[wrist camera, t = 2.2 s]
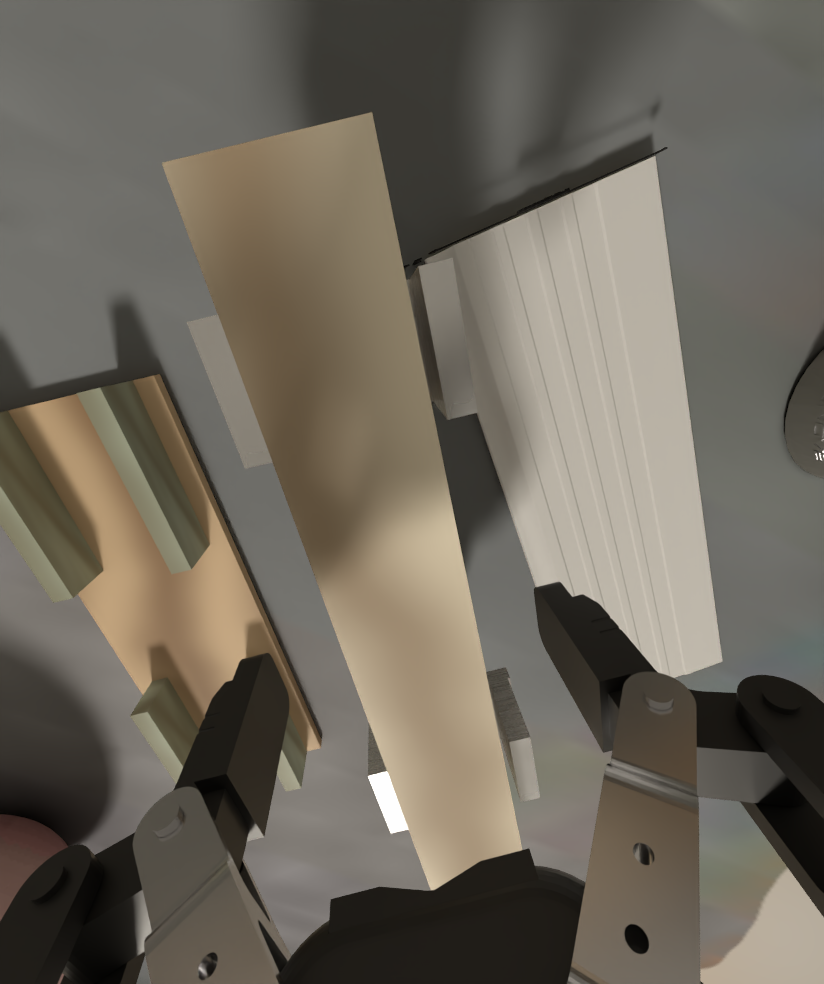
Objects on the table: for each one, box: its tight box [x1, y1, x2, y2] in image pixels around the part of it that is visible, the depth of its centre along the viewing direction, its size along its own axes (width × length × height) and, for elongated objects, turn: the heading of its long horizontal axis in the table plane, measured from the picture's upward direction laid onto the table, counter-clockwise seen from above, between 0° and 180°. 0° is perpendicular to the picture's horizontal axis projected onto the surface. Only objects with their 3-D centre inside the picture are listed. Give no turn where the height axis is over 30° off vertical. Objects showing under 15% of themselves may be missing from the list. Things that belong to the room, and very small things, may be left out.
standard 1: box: [187, 258, 478, 469], centre depth 15 cm, size 6×4×11 cm, turn 102°
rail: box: [162, 112, 522, 890], centre depth 14 cm, size 4×24×5 cm, turn 12°
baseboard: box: [404, 147, 722, 678], centre depth 24 cm, size 31×3×12 cm
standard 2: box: [368, 667, 540, 833], centre depth 21 cm, size 6×4×11 cm, turn 102°
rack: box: [0, 374, 322, 791], centre depth 23 cm, size 9×26×3 cm, turn 12°
